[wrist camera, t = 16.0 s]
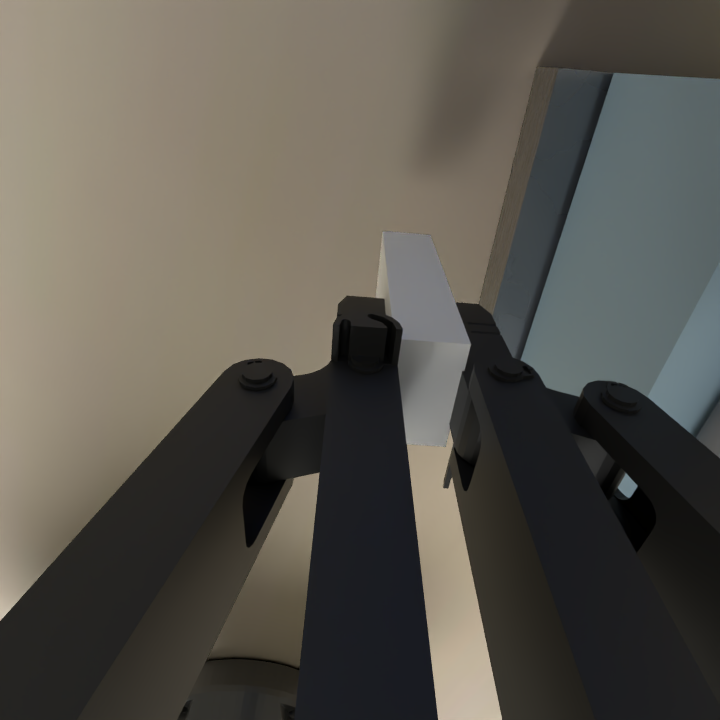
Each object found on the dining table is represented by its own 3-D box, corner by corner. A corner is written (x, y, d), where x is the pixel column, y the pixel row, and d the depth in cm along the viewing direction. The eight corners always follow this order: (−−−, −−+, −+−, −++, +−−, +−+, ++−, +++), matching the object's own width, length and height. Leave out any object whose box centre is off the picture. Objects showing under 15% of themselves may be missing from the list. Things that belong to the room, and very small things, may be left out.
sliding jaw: (507, 401, 20) (587, 590, 13) (613, 72, 13) (900, 89, 6) (598, 407, 20) (726, 597, 13) (748, 85, 13) (1179, 115, 6)
